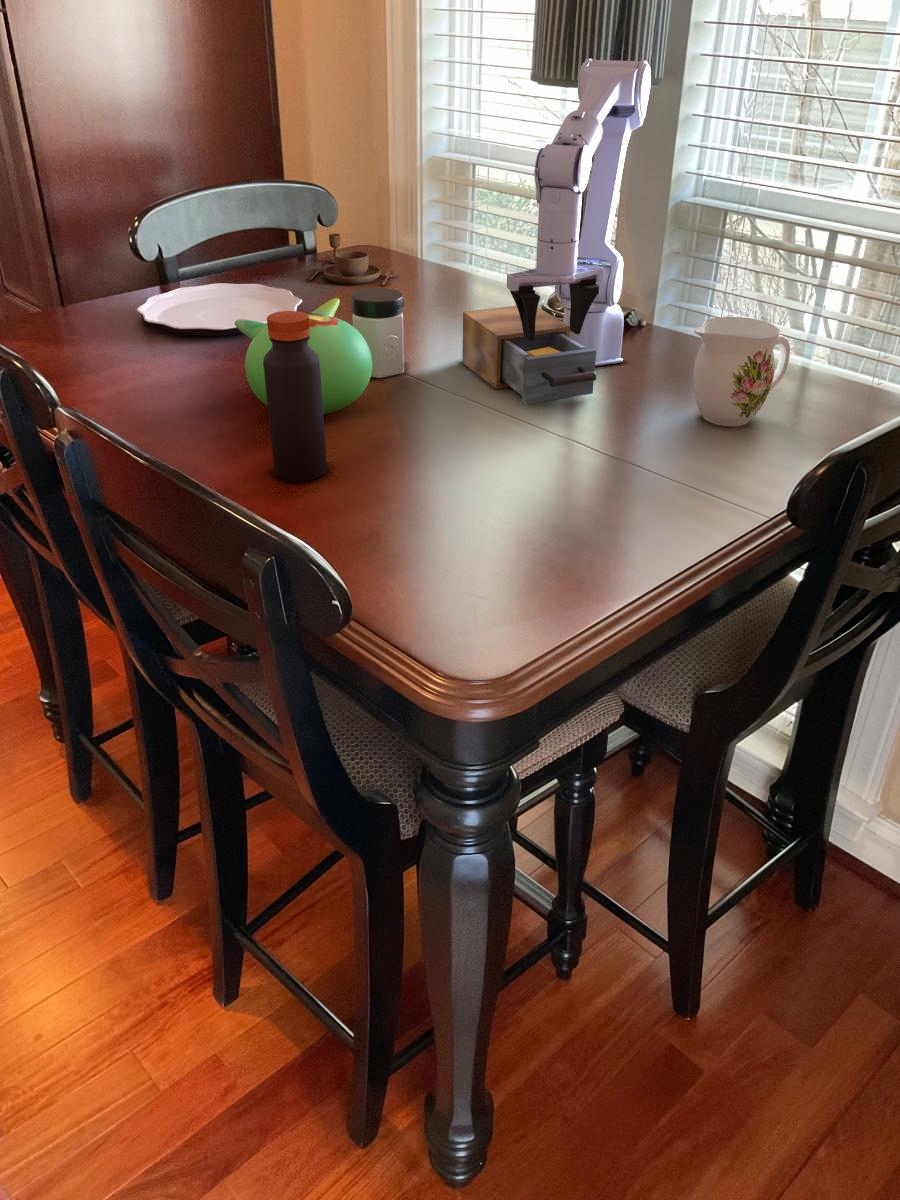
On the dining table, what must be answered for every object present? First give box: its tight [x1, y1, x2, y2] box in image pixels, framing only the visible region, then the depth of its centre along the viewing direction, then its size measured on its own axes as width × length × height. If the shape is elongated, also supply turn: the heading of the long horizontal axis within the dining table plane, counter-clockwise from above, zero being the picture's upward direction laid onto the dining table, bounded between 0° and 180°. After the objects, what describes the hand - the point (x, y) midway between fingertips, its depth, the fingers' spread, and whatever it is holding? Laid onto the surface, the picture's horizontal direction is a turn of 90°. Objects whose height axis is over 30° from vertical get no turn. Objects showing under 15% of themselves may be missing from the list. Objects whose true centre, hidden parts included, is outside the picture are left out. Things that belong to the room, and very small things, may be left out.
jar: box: [350, 287, 405, 379], centre depth 155 cm, size 9×8×12 cm
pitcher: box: [692, 316, 791, 427], centre depth 139 cm, size 11×18×14 cm, turn 117°
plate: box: [136, 282, 303, 337], centre depth 182 cm, size 29×29×2 cm
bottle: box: [263, 310, 328, 483], centre depth 120 cm, size 7×7×20 cm
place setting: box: [308, 233, 395, 286], centre depth 208 cm, size 18×20×6 cm
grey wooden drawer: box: [500, 332, 597, 405], centre depth 147 cm, size 16×11×7 cm
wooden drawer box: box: [461, 305, 570, 390], centre depth 156 cm, size 13×12×8 cm
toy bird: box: [234, 297, 372, 416], centre depth 140 cm, size 18×17×15 cm
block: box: [526, 347, 560, 357], centre depth 148 cm, size 4×4×4 cm
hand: (552, 335), depth 144 cm, fingers open, 7 cm apart
